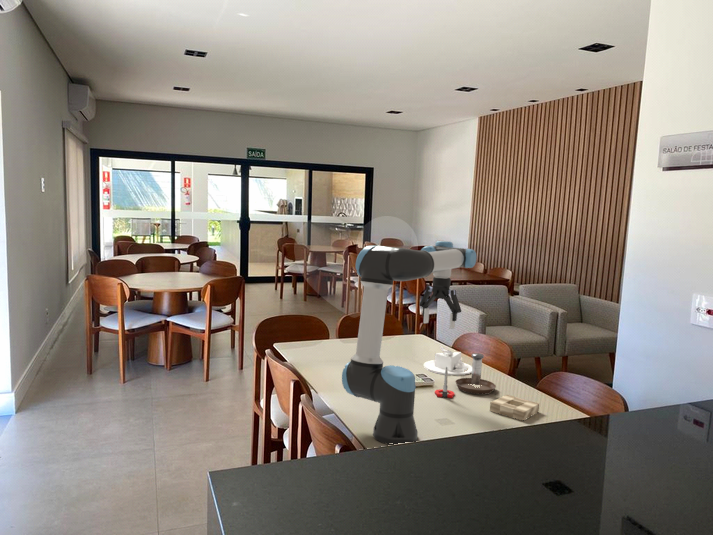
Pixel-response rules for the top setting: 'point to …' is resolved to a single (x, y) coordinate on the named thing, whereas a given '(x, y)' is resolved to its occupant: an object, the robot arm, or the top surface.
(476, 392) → the plant saucer
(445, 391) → the tow hook
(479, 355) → the steel pin
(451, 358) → the dish
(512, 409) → the oak hitch block
